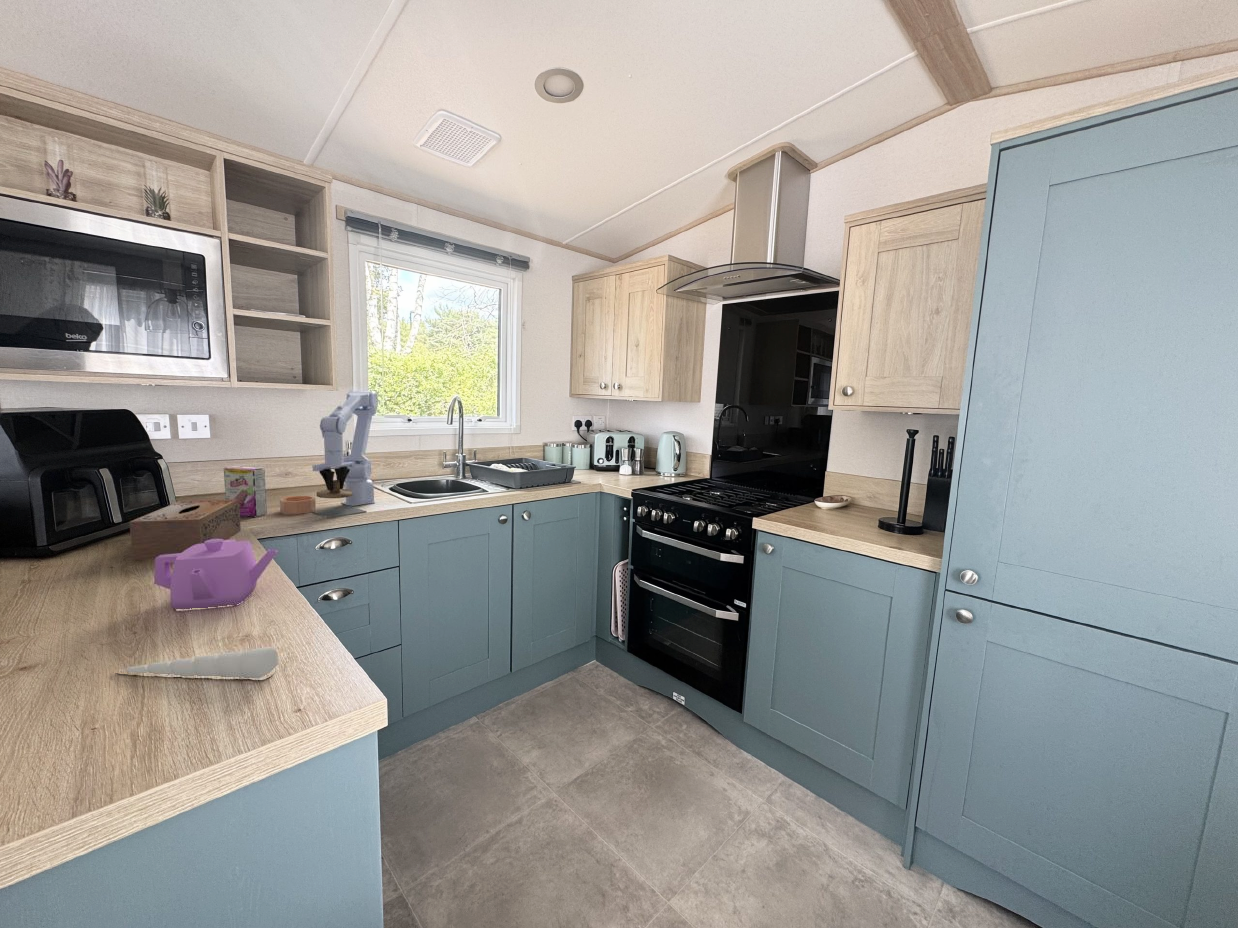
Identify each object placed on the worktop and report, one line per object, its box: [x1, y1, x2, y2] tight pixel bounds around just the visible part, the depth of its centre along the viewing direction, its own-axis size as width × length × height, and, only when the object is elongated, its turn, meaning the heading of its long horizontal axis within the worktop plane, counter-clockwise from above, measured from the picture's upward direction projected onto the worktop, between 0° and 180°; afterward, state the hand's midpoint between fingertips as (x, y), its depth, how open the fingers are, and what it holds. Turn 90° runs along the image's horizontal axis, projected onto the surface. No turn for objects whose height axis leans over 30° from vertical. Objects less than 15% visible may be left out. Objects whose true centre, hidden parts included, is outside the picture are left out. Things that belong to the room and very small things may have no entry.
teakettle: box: [153, 539, 279, 610], centre depth 108 cm, size 17×17×12 cm
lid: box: [316, 479, 353, 499], centre depth 183 cm, size 11×11×5 cm
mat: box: [311, 505, 367, 519], centre depth 185 cm, size 13×13×1 cm
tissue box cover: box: [129, 499, 242, 561], centre depth 143 cm, size 26×14×10 cm, turn 18°
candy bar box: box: [223, 465, 268, 518], centre depth 175 cm, size 11×5×16 cm, turn 84°
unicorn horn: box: [119, 646, 279, 678], centre depth 80 cm, size 5×24×5 cm, turn 88°
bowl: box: [279, 495, 317, 515], centre depth 184 cm, size 10×10×4 cm
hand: (335, 489), depth 183 cm, fingers closed on lid, 3 cm apart
